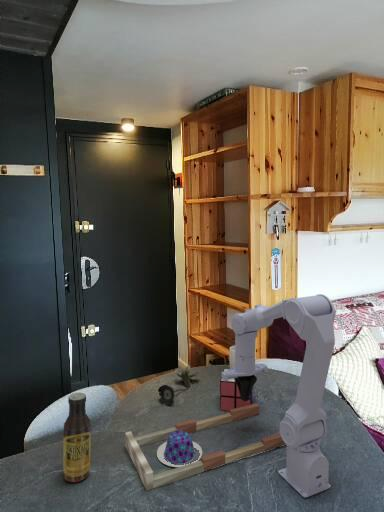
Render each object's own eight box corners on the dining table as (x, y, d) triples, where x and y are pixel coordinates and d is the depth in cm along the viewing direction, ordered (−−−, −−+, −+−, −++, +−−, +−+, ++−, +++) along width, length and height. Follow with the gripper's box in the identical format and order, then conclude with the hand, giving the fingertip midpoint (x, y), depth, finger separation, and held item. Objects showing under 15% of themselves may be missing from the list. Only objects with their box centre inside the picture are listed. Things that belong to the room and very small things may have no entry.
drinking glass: (248, 392, 133) (249, 351, 131) (229, 392, 133) (230, 351, 132) (246, 384, 140) (246, 345, 138) (228, 383, 140) (228, 345, 138)
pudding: (163, 474, 91) (162, 454, 90) (152, 446, 102) (152, 428, 102) (209, 464, 95) (209, 444, 94) (193, 438, 106) (193, 420, 105)
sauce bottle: (64, 487, 86) (61, 405, 84) (62, 470, 92) (59, 393, 90) (93, 479, 89) (91, 399, 87) (89, 463, 94) (87, 388, 92)
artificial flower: (152, 406, 126) (147, 376, 128) (187, 388, 145) (183, 362, 147) (174, 405, 122) (169, 374, 123) (207, 387, 141) (202, 360, 142)
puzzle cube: (251, 413, 118) (251, 383, 117) (219, 410, 120) (219, 380, 119) (252, 399, 128) (252, 370, 127) (223, 396, 130) (223, 368, 129)
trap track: (294, 442, 103) (294, 429, 103) (146, 490, 85) (146, 474, 85) (256, 412, 119) (256, 400, 119) (125, 446, 101) (125, 432, 101)
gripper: (257, 346, 113) (256, 388, 115) (216, 353, 107) (215, 398, 109) (272, 353, 107) (271, 398, 109) (229, 362, 101) (228, 410, 102)
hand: (244, 399), depth 108 cm, fingers closed
